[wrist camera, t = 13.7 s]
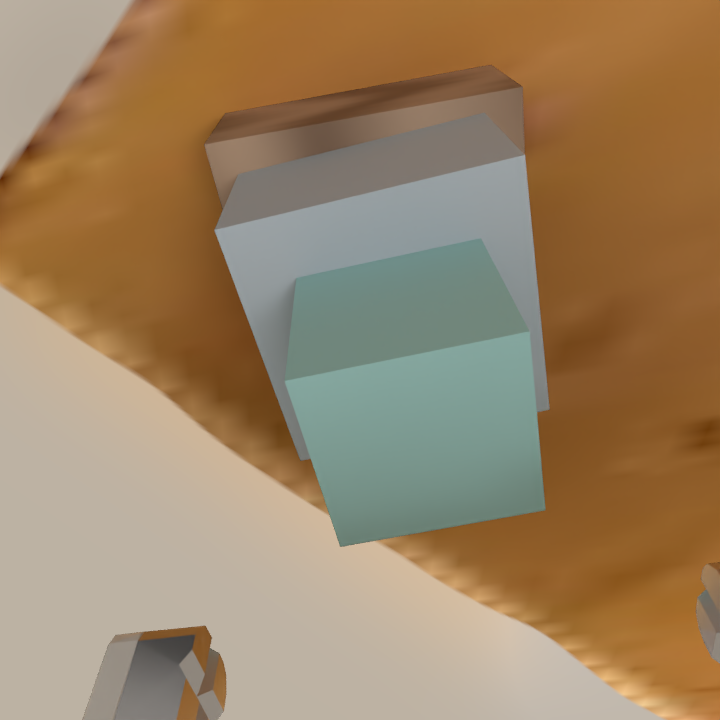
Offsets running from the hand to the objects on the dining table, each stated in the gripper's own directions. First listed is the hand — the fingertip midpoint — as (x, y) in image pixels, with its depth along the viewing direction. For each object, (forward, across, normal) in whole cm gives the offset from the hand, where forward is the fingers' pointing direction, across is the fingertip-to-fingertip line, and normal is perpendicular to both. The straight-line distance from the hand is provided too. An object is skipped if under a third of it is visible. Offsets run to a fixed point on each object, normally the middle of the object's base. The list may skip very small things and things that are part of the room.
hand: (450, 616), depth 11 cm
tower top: (+14, 0, 0) cm, 14 cm away
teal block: (+9, 0, 0) cm, 9 cm away
